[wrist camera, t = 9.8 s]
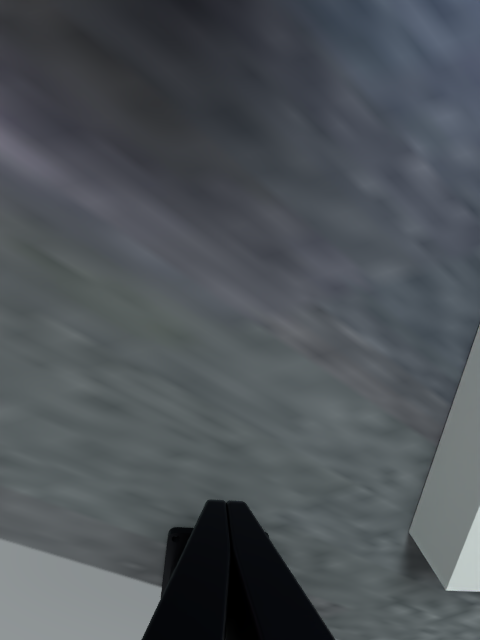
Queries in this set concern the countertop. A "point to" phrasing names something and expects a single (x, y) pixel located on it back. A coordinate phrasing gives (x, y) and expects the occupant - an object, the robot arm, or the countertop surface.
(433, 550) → the keypad
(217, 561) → the robot arm
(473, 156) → the countertop surface
